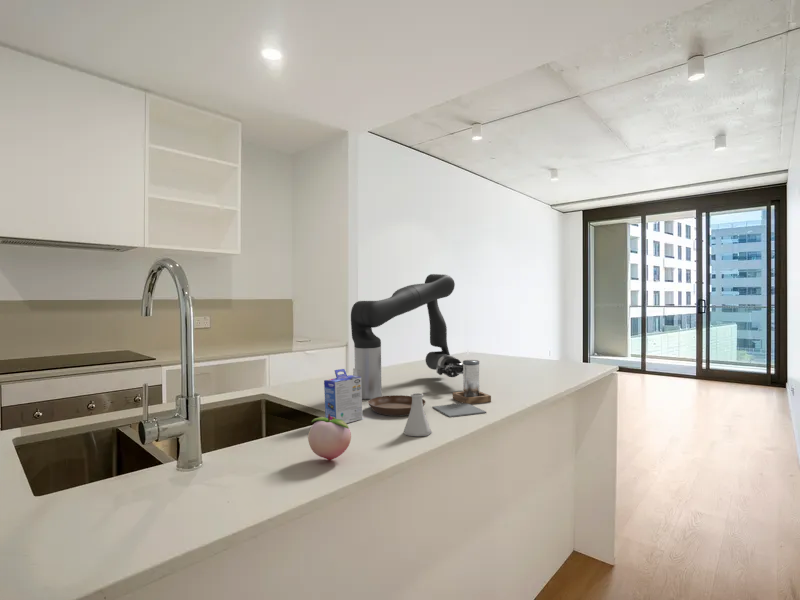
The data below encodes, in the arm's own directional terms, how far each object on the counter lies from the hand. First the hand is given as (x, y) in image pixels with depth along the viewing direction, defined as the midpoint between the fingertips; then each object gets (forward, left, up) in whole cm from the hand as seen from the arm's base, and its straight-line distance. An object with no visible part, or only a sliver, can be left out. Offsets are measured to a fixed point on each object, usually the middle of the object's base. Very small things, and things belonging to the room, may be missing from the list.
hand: (462, 372), depth 162 cm
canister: (-2, -9, -8) cm, 12 cm away
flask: (-32, -35, -8) cm, 48 cm away
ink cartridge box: (-47, -17, -8) cm, 50 cm away
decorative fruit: (-57, -46, -8) cm, 74 cm away
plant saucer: (-29, -11, -8) cm, 32 cm away
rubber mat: (-12, -19, -8) cm, 24 cm away
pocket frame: (-2, -9, -8) cm, 12 cm away
